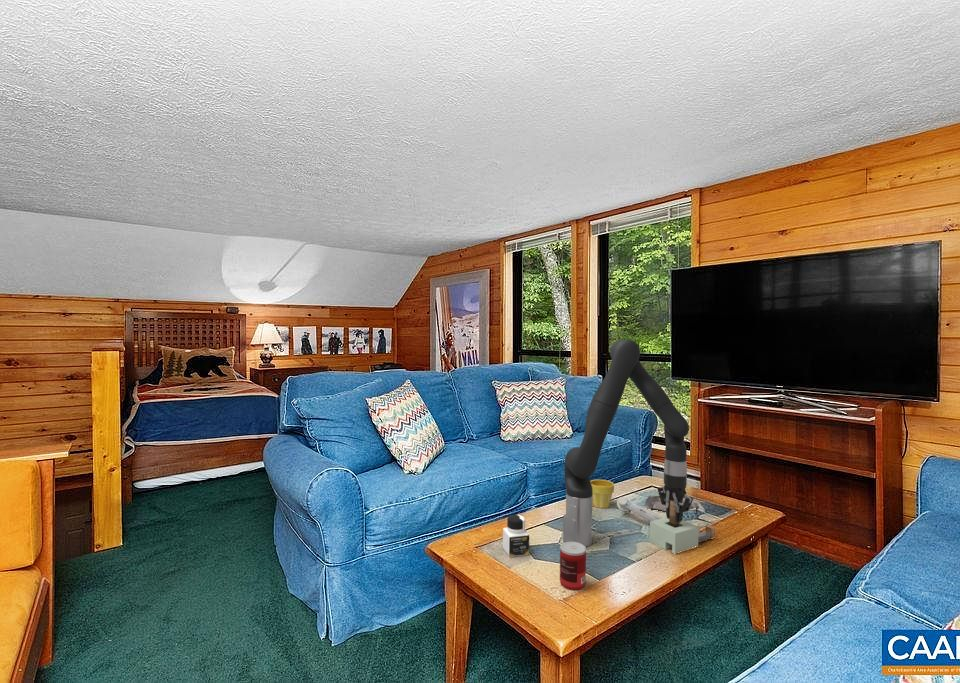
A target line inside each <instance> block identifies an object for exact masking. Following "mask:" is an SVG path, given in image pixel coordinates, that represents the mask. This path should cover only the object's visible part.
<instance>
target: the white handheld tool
mask: <svg viewBox="0 0 960 683" xmlns="http://www.w3.org/2000/svg"><path fill="white" fill-rule="evenodd" d="M616 507H618V509H619V510H620V511H621V512H623V513H627V514H629V513H631V512H632V513H634V514H636V515H637V516H639V517H641V518H642V519H644V520H646V521H648V522H649V523H650V522H651V521H654V520H658V519H662V518H664V517H663V516H661V515H659V514H657V513H654V512H653V511H652V510H648V509H645V508H644V507H643V506H641V505H638V504H636V503H633V501H631V499H629V498H627V497H624V496H621V497H619V498H618V499H617V501H616Z"/></svg>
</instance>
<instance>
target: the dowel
mask: <svg viewBox="0 0 960 683" xmlns="http://www.w3.org/2000/svg"><path fill="white" fill-rule="evenodd" d="M678 503H679V502H678ZM676 512H677V511H676V506H675V505H674V501H673V500H670V516H669V525H670V526H672V527H674V528H676V527H679V523H677V522H676Z"/></svg>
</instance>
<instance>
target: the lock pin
mask: <svg viewBox="0 0 960 683" xmlns="http://www.w3.org/2000/svg"><path fill="white" fill-rule="evenodd" d="M713 537H715V538H716V527H715V526H712V525H710V524H708V525H705V531H703V532H699V535H698V542H699V543H702V542H705V541H708V540H707V539H709V540H711V539H710V538H713ZM704 540H705V541H704Z"/></svg>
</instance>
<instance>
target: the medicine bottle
mask: <svg viewBox="0 0 960 683" xmlns="http://www.w3.org/2000/svg"><path fill="white" fill-rule="evenodd" d="M506 521H507V524H506V525H507V526H506V527H503V528H502V549H503V550H504V552H505V553H506V554H507V556H508V557H509V558H512V557H514V558H515V557H522V556H529V555H530V533H529V532H528V531H527V530H526V519H525V517H524V516H522V515H520V514H511V515H509V516H507V520H506Z"/></svg>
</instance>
